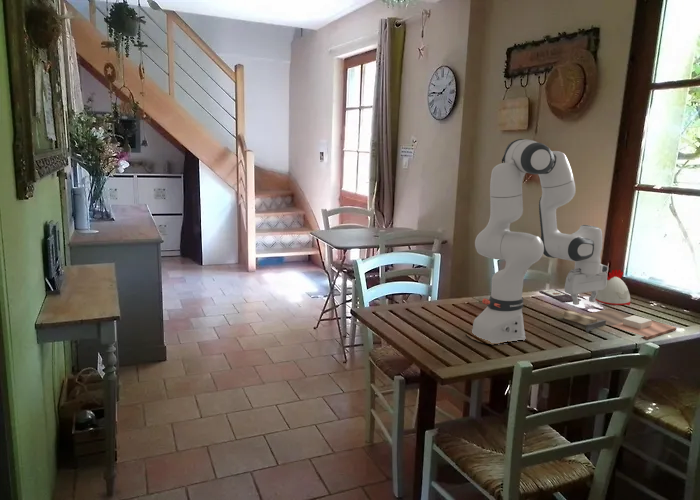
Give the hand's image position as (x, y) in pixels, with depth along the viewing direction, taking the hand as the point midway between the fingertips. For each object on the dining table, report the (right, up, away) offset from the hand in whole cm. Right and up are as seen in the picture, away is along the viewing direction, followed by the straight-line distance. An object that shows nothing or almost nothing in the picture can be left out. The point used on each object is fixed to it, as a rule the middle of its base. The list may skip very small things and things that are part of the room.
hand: (584, 303), depth 201 cm
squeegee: (0, -9, +4) cm, 10 cm away
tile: (+20, -8, -1) cm, 22 cm away
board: (+18, -9, +3) cm, 20 cm away
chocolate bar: (+7, -2, +42) cm, 43 cm away
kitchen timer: (+26, -3, +31) cm, 40 cm away
